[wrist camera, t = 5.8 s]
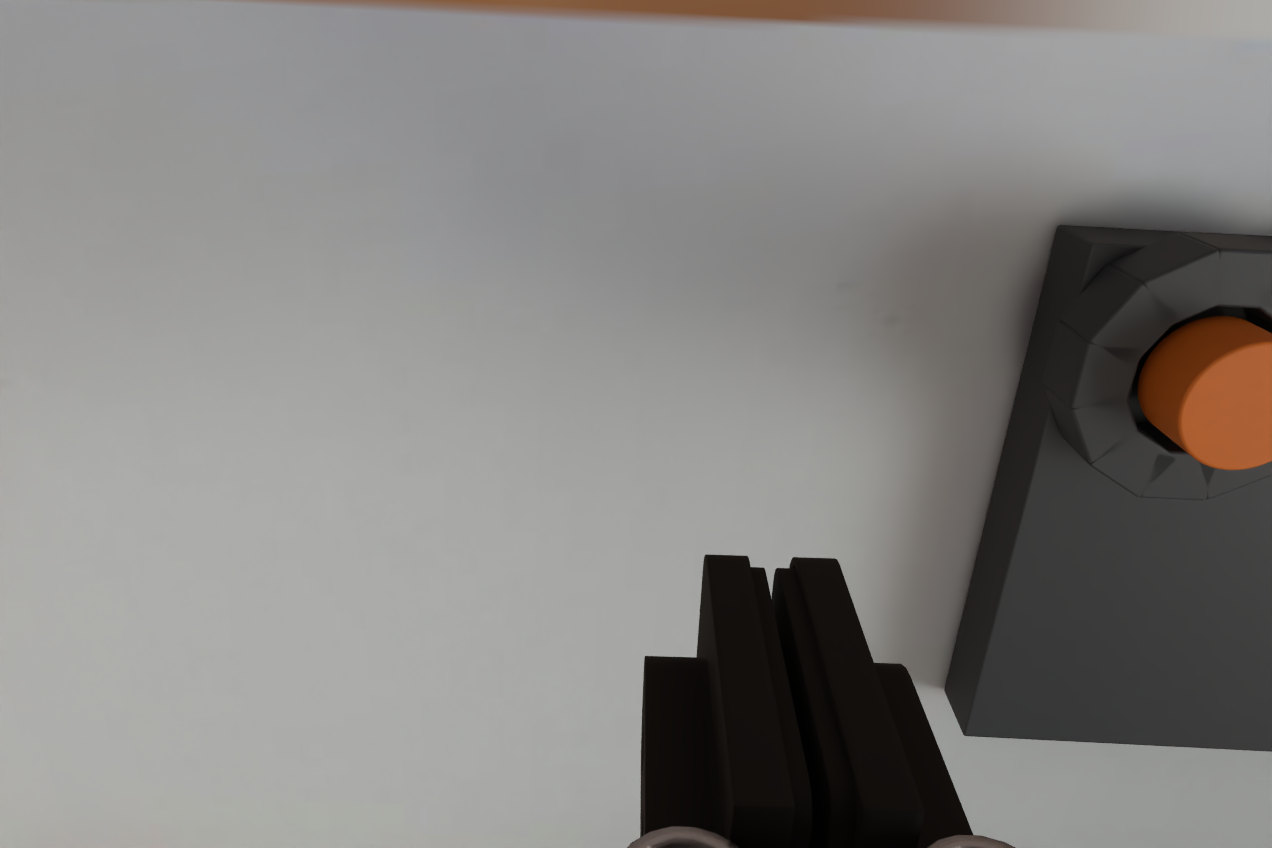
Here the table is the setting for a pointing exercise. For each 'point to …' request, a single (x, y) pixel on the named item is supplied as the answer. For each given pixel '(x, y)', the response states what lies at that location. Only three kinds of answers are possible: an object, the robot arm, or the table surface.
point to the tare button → (1213, 391)
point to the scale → (1121, 520)
